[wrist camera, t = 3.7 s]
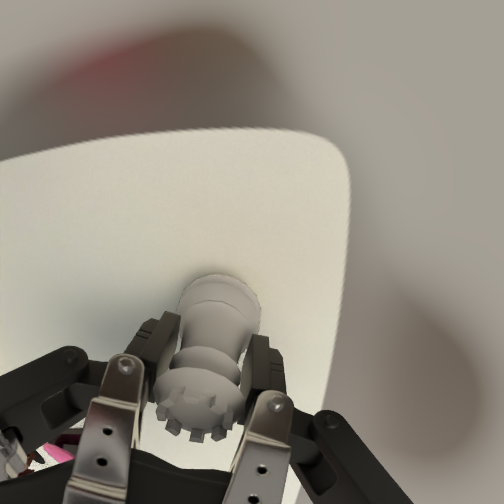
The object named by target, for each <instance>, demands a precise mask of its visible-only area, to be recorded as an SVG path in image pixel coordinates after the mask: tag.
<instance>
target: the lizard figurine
mask: <svg viewBox="0 0 504 504" xmlns="http://www.w3.org/2000/svg"><path fill="white" fill-rule="evenodd" d="M82 430H83V429H67V430H65V431H64V432H62V433H61V434H59V435H58V436H56V437H55V438H53V439H52V440H50V441H48V443H45V444H44V445H43V449H44V450H45V451H46V452H47V453H48V454H49V455H50V456H51V457H53V458H54V459H55V460H56V461H58V462H59V463H63V462H65V461H68V460H71V459H73V458H75V457H76V453H77V449H78V445H79V441H80V437H81V433H82Z"/></svg>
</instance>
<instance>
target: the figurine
mask: <svg viewBox="0 0 504 504" xmlns="http://www.w3.org/2000/svg"><path fill="white" fill-rule="evenodd" d="M28 457H29V458H28ZM32 460H35V461H36V462H38V463H41V464H45V461H44V459H43V458H42V457H41V456H40V455H39V453H38V452H37V451H35V450H34V451H33V452H31V453H30V454H28V455H27V464H26V466H25V469H24V471H23V472H20V473H19V474H18V477H19V476H23V475H26V474H29V473H33V472H34V471H35V470H34V469H33V470H30V469H28V467H29V466H30V464H31V462H32Z"/></svg>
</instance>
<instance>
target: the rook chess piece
mask: <svg viewBox="0 0 504 504" xmlns="http://www.w3.org/2000/svg"><path fill="white" fill-rule="evenodd" d="M176 314H178V315H181V321H180V328H179V332H180V336H181V338H182V341H181V348H180V351H179V352H178V353H176V354H175V355H173V357H172V360H171V362H170V364H169V369H170V370H168V371H167V372H165V373H164V374H162V375H161V376H159V377H158V378H157V379H156V382H155V384H154V387H153V394H154V398H155V402H156V403H157V405H158V407H157V409H156V415H157V419H158V421H166V419H168V421H167V425H166V428H165V429H166V430H167V431H169V432H170V433H172V434H173V435H175V436H177V435H178V434H180V430H181V428H182V429H185V430H187V431H190V432H191V435H190V440H189V441H191V442H198V443H203V441H204V435H205V434H206V433H212V435H211V438H212V439H213V440H214V441H216V442H217V441H219V440H222V439H224V438H226V435H227V430H232V426H233V424H234V423H235V422H237V421H238V420H239V418H240V417H241V416H242V415H243V413H244V412H245V402H246V400H245V398H244V396H243V395H242V393H241V391H240V389H239V388H238V386H239V384H240V381H241V372H240V370H239V368H238V366H237V364H238V361H239V358H240V354H241V353H243V352H244V351H245V349H247V348H248V345H249V342H250V339H251V336H252V334H258V332H259V324H260V317H261V307H260V304H259V302H258V299H257V296H256V294H255V293H254V292H253V291H252V290H251V289H250V288H249V287H248V286H247V285H246V284H245V283H244V282H242V281H239V280H237V279H235V278H233V277H231V276H227V275H214V274H211V275H208V276H205V277H202V278H198V279H196V280H195V281H193V282H192V283H191V284H190V285H189V286H188V287H187V288H185V290H184V292H183V294H182V297H181V299H180V301H179V305H178V307H177V310H176Z"/></svg>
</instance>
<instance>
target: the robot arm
mask: <svg viewBox="0 0 504 504" xmlns="http://www.w3.org/2000/svg"><path fill="white" fill-rule="evenodd" d="M180 321H181V315H178V314H174V313H171V312H167V311H165V312H164V314H163V315H162V317H161V319H160V320H156V319H153V318H151V319H149V320H147V321H146V322H144V323H143V324H142V326H141V327H140V329H139V330H138V332H137V333H136V336H134V338H133V339H132V341H131V342H130V344H129V345H128V347H127V348H126V350H125V351H124V353H123V354H117V355H115V356H113V357H112V358H111V359H110V360H109V362H100V361H93V360H88V356H87V354H86V352H85V351H84V350H83V349H81V348H79V347H76V346H64V347H61V348H59V349H57V350H55V351H53V352H51V353H49V354H46V355H44V356H42V357H40V358H38V359H36V360H34V361H32V362H29V363H27V364H25V365H23V366H21V367H19V368H17V369H15V370H12V371H10V372H8V373H6V374H4V375H2V376H0V504H281V502H282V497H283V492H284V487H285V482H286V477H287V472H288V467H289V464H290V465H291V467H292V469H293V471H294V472H295V474H296V476H297V477H298V479H299V481H300V482H301V484H302V486H303V487H304V489H305V491H306V492H307V494H308V496H309V497H310V499H311V501H312V502H313V504H414V503H413V502H412V501H411V500H410V499H409V498H408V496H407V495H406V494H405V493H404V492H403V490H402V489H401V488H400V487H399V486H398V484H397V483H396V482H395V481H394V480H393V478H392V477H391V476H390V475H389V473H388V472H387V471H386V470H385V469H384V467H383V466H382V465H381V464H380V462H379V461H378V460H377V459H376V458H375V456H374V455H373V454H372V453H371V451H370V450H369V449H368V448H367V446H366V445H365V444H364V443H363V442H362V440H361V439H360V438H359V436H358V435H357V434H356V433H355V431H354V430H353V429H352V428H351V426H350V425H349V424H348V422H347V421H346V420H345V419H344V417H343V416H341V415H340V414H338V413H337V412H334V411H331V410H322V411H319V412H317V413H316V414H315V416H313V415H310V414H308V413H305V412H302V411H300V410H298V409H296V408H295V407H294V404H293V401H292V400H291V399H290V397H288V396H287V392H286V383H285V373H284V366H283V365H284V364H283V357H282V355H281V354H280V352H279V351H278V350H277V349H272V348H269V337H267V336H262V335H258V334H252V336H251V339H250V342H249V345H248V349H247V352H246V355H245V358H244V361H243V366H242V372H241V384H240V391H241V393H242V395H243V396H244V398H245V400H246V402H245V412H244V413H243V415H242V416H241V417H240V418H239V420H238V421H237V424H239V425H244V431H243V434H242V436H241V438H240V441H239V444H238V447H237V450H236V452H235V455H234V458H233V460H232V463H231V466H230V468H229V471H228V472H226V471H220V470H215V469H181V468H178V467H176V466H174V465H172V464H170V463H168V462H166V461H164V460H162V459H160V458H158V457H156V456H155V455H153V454H151V453H148V452H144V451H141V450H140V442H141V432H142V423H143V414H144V408H145V406H146V404H147V401H148V402H151V403H155V398H154V394H153V387H154V384H155V382H156V379H157V378H158V377H159V376H161V375H162V374H164V373H165V372H167V371H168V368H169V364H170V362H171V360H172V357H173V355H174V353H175V350H176V346H177V341H178V334H179V328H180ZM60 391H61V392H60ZM58 392H59V393H58ZM51 396H52V397H51ZM85 417H86V419H85V422H84V426H83V430H82V433H81V437H80V441H79V445H78V449H77V453H76V457H75V458H73V459H71V460H68V461H65V462H63V463H60V464H57V465H54V466H51V467H48V468H45V469H42V470H39V471H36V472H33V473H29V474H26V475H23V476H19V477H18V474H19V473H20V472H23V471H24V469H25V466H26V464H27V455H28V454H30V453H31V452H33V451H34V450H36V449H37V448H39V447H41V446H42V445H44V444H45V443H47V442H48V441H50V440H52V439H53V438H55V437H56V436H58V435H59V434H61V433H62V432H64V431H65V430H67V429H68V428H70V427H71V426H73V425H74V424H76V423H77V422H79V421H80V420H82V419H83V418H85Z"/></svg>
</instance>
